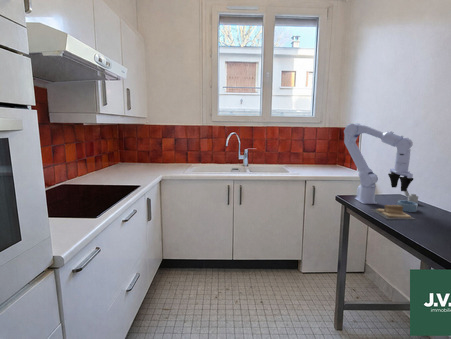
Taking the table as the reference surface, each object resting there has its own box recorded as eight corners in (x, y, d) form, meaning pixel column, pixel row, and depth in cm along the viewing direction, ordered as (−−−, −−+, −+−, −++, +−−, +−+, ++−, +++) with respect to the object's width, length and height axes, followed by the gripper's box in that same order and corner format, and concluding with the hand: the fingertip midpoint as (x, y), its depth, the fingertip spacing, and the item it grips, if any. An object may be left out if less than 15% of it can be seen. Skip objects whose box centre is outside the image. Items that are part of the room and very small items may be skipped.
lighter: (415, 203, 142) (417, 189, 141) (417, 204, 141) (419, 189, 139) (401, 202, 144) (403, 188, 142) (402, 203, 142) (404, 189, 141)
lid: (376, 210, 130) (377, 202, 129) (396, 210, 130) (397, 202, 129) (388, 217, 120) (389, 209, 119) (410, 217, 120) (411, 209, 119)
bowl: (393, 206, 136) (394, 200, 136) (409, 206, 136) (410, 200, 136) (403, 211, 129) (404, 205, 128) (420, 212, 128) (421, 205, 128)
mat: (371, 209, 131) (371, 209, 131) (397, 210, 131) (397, 209, 131) (386, 219, 118) (386, 218, 118) (415, 219, 118) (415, 218, 118)
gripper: (420, 165, 123) (416, 193, 126) (400, 160, 137) (397, 185, 140) (405, 164, 123) (401, 192, 126) (387, 160, 137) (384, 185, 140)
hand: (398, 189), depth 133 cm, fingers open, 7 cm apart
